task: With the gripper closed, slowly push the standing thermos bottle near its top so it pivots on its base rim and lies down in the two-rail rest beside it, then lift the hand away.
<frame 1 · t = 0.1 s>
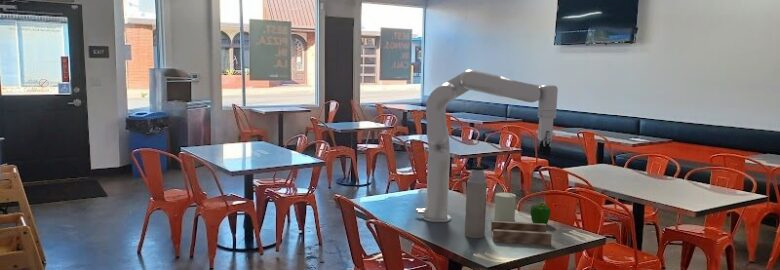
hand: (544, 154, 254), 31 cm above the table, tool pointing down, fingers open, 9 cm apart
thermos bottle: (474, 235, 239), on the table
bell pepper: (539, 224, 260), on the table
bottle rest: (519, 238, 237), on the table
can: (504, 220, 264), on the table
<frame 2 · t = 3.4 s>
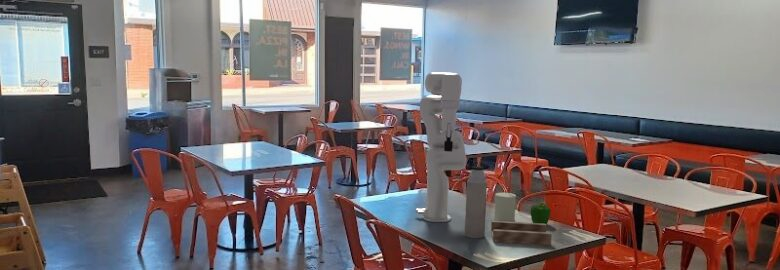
hand: (448, 151, 236), 34 cm above the table, tool pointing down, fingers closed
nothing on the table moved.
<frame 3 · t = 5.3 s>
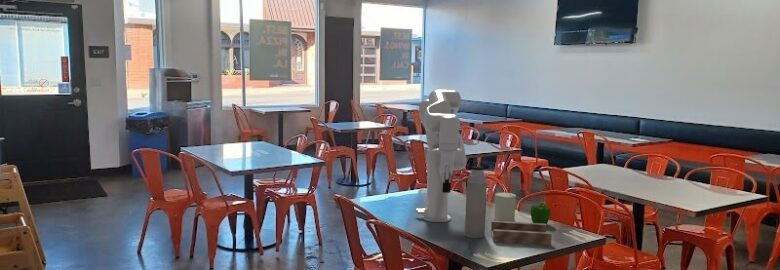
hand: (446, 192, 238), 17 cm above the table, tool pointing down, fingers closed
nothing on the table moved.
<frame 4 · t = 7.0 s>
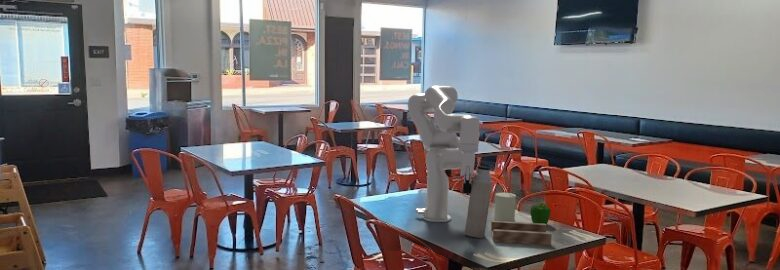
hand: (466, 192, 237), 17 cm above the table, tool pointing down, fingers closed
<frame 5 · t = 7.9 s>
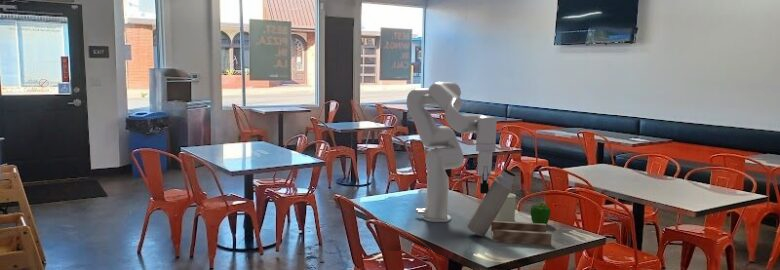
hand: (484, 193, 236), 18 cm above the table, tool pointing down, fingers closed
thermos bottle: (475, 231, 239), point 2 cm above the table, touching gripper
everything else where it was.
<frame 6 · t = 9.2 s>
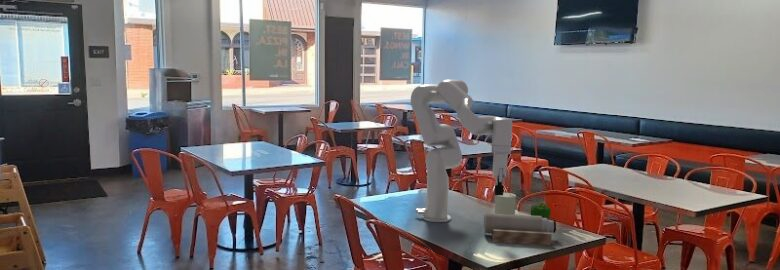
hand: (498, 194, 236), 17 cm above the table, tool pointing down, fingers closed
thermos bottle: (484, 223, 239), point 5 cm above the table, touching bottle rest
everything else where it was.
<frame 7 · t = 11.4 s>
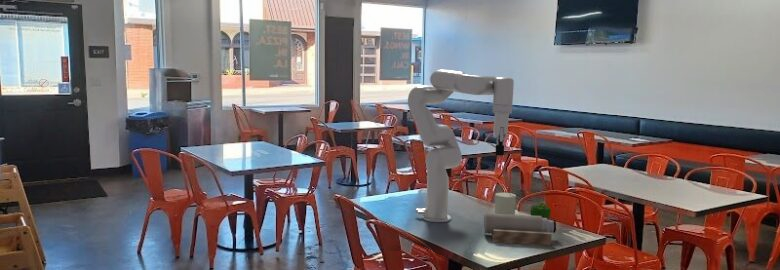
hand: (499, 155, 235), 33 cm above the table, tool pointing down, fingers closed
nothing on the table moved.
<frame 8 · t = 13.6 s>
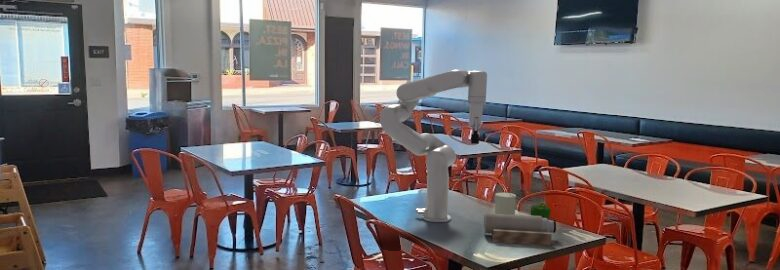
hand: (474, 143, 252), 35 cm above the table, tool pointing down, fingers closed
nothing on the table moved.
at the end: thermos bottle tilted 90°; thermos bottle touching bottle rest; thermos bottle inside the target area on the table beside the bottle rest (1.8 cm from its centre), point 4.9 cm above the table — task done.
